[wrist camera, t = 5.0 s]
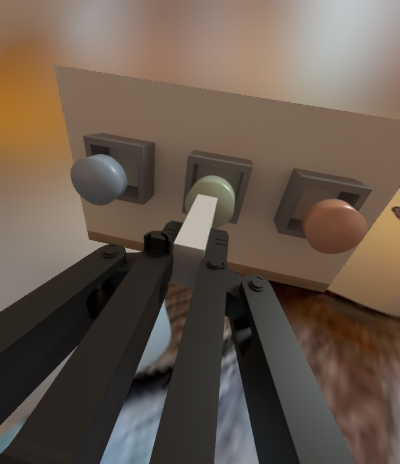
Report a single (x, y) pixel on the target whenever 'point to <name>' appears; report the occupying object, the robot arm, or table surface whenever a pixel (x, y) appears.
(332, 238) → the terracotta button
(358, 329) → the table surface
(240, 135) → the button panel
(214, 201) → the robot arm
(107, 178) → the slate button
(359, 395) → the table surface
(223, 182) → the sage button
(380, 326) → the table surface
